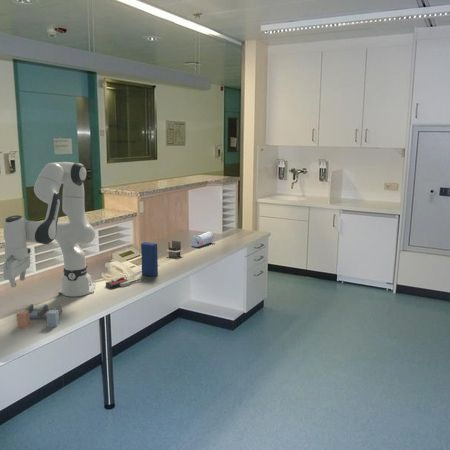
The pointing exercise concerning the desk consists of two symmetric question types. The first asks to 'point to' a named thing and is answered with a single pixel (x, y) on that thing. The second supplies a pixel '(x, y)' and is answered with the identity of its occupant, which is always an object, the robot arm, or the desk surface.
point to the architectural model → (174, 249)
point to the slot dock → (40, 312)
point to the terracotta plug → (23, 319)
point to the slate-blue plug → (52, 318)
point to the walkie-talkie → (119, 282)
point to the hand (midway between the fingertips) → (18, 283)
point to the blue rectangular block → (149, 259)
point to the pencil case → (202, 239)
